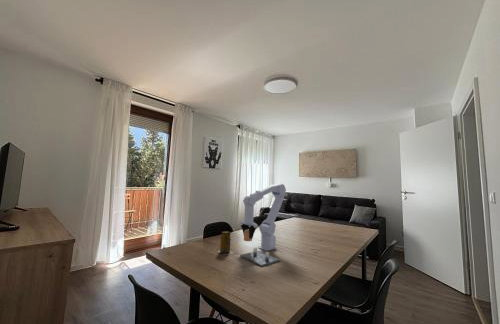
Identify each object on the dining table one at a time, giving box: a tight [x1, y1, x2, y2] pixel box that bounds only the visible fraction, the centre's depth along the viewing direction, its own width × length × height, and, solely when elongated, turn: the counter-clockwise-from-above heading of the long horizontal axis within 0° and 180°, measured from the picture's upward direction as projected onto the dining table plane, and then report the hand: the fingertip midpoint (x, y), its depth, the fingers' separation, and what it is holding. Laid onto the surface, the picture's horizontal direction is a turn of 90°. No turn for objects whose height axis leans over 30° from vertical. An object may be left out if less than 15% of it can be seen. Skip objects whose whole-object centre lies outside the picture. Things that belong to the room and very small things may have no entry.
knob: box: [243, 230, 253, 242], centre depth 133 cm, size 5×5×6 cm
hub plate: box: [239, 247, 281, 268], centre depth 121 cm, size 14×18×5 cm
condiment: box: [216, 231, 234, 256], centre depth 130 cm, size 7×8×12 cm
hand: (248, 237), depth 133 cm, fingers closed on knob, 5 cm apart
